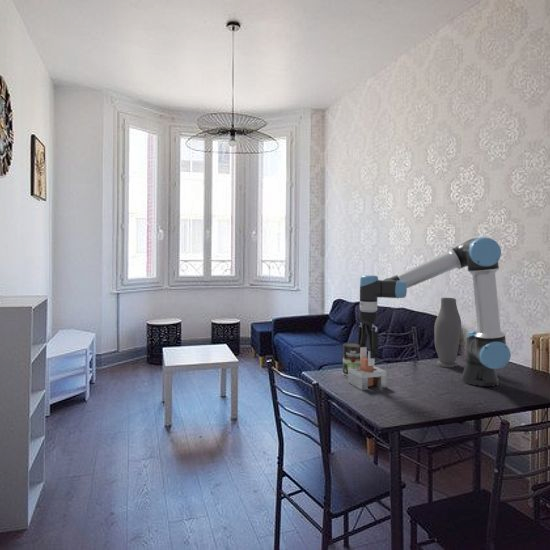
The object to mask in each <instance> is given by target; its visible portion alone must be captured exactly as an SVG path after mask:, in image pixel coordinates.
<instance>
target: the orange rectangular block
mask: <svg viewBox="0 0 550 550" xmlns="http://www.w3.org/2000/svg"><path fill="white" fill-rule="evenodd" d="M360 369H361V370H363V371H373V366H368V356H367V357H365V358H361V368H360ZM372 386H374V384H373V377H370V378H368V387H372Z"/></svg>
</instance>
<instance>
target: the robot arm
mask: <svg viewBox="0 0 550 550" xmlns="http://www.w3.org/2000/svg"><path fill="white" fill-rule="evenodd" d="M501 256H502V249H501V246H500V245H499V243H498V242H497V241H496V240H495V239H493V238H490V237H485V236H483V237H482V236H481V237H476V238H470V239H468V240H466V241H465V242H463V243H461V244H459V245H456V246H455V247H453V248H451V249H449V252H447V253H444V254H442V255H441V256H438V257H434V258H433V259H431V260H428V261H425V262H424V263H421V264H418V265H417V266H413V267H411V268H410V269H407V270H405V271H403V272H400V273H398V274H396V275H394V276H391V277H388V278H384V279H383V280H382V279H379V276H377V275H369V274H368V275H362V276H360V280H359V310H360V311H359V315H358V317H359V318H358V319H359V320H360V321H361V322H358V323H357V341H356V343H357V344H358V345H359V346H360V362H361V358H365V357H368V366H375V358H376V351H379V331H380V327H379V326H376V323H375V321H378V320H377V319H378V312H377V311H378V298H384V299H385V298H388V299H404V298H406V296H407V292H408V290H407V289H409V288H411V287H413V286H416V285H419V284H421V283H423V282H424V283H425V282H426V281H427V280H430V279H432V278H436V277H437V276H441V275H443V274H445V273H447V272H450V271H452V270H454V269H458V270H459V269H463V268H465V267H467V271H468V273H470V274H471V275H472V282H473V293H474V305H475V306H474V307H475V314H476V315H475V316H476V325H477V330H472V331H471V330H470V331H468V332H467V333H466V354H465V355H466V359H465V360H466V361H465V366H464V368H463V372H462V373H461V379H462V380H461V382H463V381H464V382H463V383H465V382H466V383H465V384H467V383H469V384H468V385H470V384H473V385H472V386H475V385H479V386H478V387H482V386H493V385H497V384H498V385H499V377H498V375H497V370H498V369H501V368H504V367H505V366H506V365H507V364H508V363H509V362H510V360H511V356H512V354H511V353H512V352H511V349H510V348H509V346H508V345H507V340H506V334H505V333H504V332H503V331H502V330H501V322H500V321H501V319H500V311H499V310H500V309H499V301H498V290H497V278H496V273H497V272H498V271H499V270H500V269H499V268H500V265H499V260H500V259H501ZM367 340H368V345H367ZM368 347H369V348H368ZM367 348H368V349H367ZM367 352H368V353H367ZM367 355H368V356H367ZM498 385H497V386H498ZM493 387H494V386H493Z"/></svg>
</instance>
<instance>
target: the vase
mask: <svg viewBox="0 0 550 550" xmlns="http://www.w3.org/2000/svg"><path fill="white" fill-rule="evenodd" d="M461 319H462V318H461V315H460V313H459V309H458V305H457V299H456V298H454V297H441V299H440V309H439V312H438V315H437V317H436V319H435V322H434V326H433V327H434V329H433V330H434V331H433V332H434V339H433V340H434V347H435V350H436V354H437V357H438V360H437V361H436V366H437V365H438V367H440V366H442V367H441V368H455V367H454V366H456V365H457V366H458V362H457V361H456V360H457V357H458V352H459V346H460V340H461V332H462V320H461ZM457 366H456V367H457Z"/></svg>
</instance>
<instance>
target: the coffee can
mask: <svg viewBox="0 0 550 550" xmlns="http://www.w3.org/2000/svg"><path fill="white" fill-rule="evenodd" d="M349 366H361V362H360V346H359V345H358V344H357V342H346V343H343V344H342V375H344V376H345V377H348V367H349Z"/></svg>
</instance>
